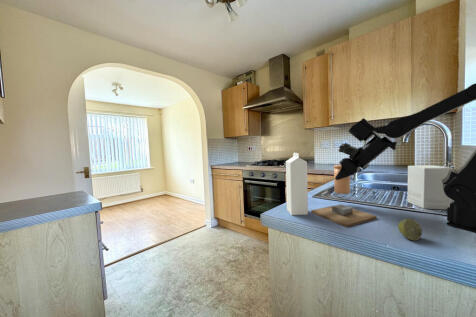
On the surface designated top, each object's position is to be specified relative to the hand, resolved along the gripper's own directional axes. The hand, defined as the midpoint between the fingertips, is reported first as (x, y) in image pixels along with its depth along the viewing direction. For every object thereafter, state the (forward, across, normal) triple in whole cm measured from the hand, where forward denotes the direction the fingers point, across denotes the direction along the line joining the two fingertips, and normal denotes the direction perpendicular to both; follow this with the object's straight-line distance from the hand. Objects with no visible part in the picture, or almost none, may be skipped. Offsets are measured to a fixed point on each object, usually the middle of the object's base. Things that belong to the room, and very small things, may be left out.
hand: (338, 178), depth 76 cm
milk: (+14, +19, +2) cm, 23 cm away
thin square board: (+4, +12, +11) cm, 17 cm away
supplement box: (-10, -18, +26) cm, 33 cm away
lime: (-8, +18, +24) cm, 31 cm away
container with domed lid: (+3, 0, +5) cm, 6 cm away
